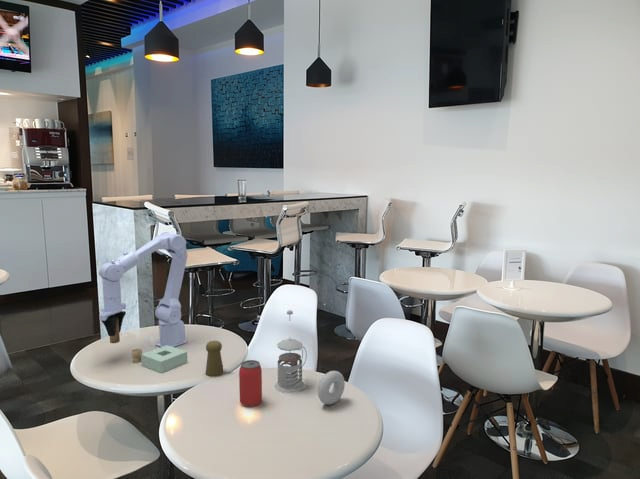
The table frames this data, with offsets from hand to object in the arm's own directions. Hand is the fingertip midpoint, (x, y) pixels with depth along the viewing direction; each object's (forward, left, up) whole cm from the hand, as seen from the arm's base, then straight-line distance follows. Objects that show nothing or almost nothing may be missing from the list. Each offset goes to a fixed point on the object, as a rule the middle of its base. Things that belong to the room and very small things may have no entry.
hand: (114, 333), depth 167 cm
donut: (-18, +81, -10) cm, 84 cm away
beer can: (-5, +61, -10) cm, 62 cm away
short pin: (-4, +7, -10) cm, 13 cm away
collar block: (-8, +17, -10) cm, 21 cm away
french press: (-21, +64, -10) cm, 68 cm away
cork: (-13, +37, -10) cm, 40 cm away
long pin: (0, 0, -3) cm, 3 cm away
